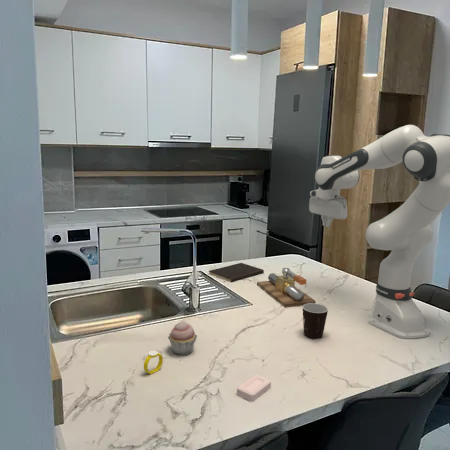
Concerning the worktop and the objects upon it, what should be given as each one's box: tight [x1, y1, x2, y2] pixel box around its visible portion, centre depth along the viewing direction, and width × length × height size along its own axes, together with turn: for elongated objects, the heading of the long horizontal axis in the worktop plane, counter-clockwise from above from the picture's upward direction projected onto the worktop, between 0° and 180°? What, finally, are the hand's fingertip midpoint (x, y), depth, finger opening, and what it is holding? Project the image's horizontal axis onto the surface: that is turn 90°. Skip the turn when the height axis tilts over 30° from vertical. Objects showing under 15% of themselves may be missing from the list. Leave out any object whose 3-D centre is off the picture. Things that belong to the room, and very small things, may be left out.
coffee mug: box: [302, 303, 329, 340], centre depth 148 cm, size 12×9×10 cm
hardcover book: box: [208, 262, 265, 283], centre depth 216 cm, size 16×23×2 cm
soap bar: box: [236, 374, 272, 402], centre depth 116 cm, size 5×9×2 cm, turn 141°
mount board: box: [256, 280, 317, 308], centre depth 189 cm, size 28×14×2 cm, turn 19°
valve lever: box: [281, 267, 307, 286], centre depth 181 cm, size 17×3×2 cm, turn 20°
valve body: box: [267, 272, 304, 302], centre depth 188 cm, size 26×6×8 cm, turn 19°
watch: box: [143, 350, 164, 375], centre depth 124 cm, size 6×3×6 cm, turn 139°
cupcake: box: [167, 320, 198, 356], centre depth 136 cm, size 9×9×10 cm
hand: (326, 226), depth 185 cm, fingers closed
